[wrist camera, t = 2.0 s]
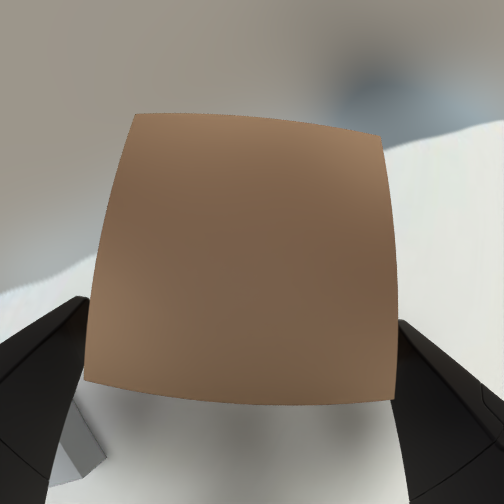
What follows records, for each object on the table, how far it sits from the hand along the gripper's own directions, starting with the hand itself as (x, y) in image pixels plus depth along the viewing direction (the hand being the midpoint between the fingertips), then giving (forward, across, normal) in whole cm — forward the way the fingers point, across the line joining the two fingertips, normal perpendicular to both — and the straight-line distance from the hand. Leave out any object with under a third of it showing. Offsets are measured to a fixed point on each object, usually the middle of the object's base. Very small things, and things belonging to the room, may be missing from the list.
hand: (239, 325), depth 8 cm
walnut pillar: (+7, 0, +6) cm, 9 cm away
